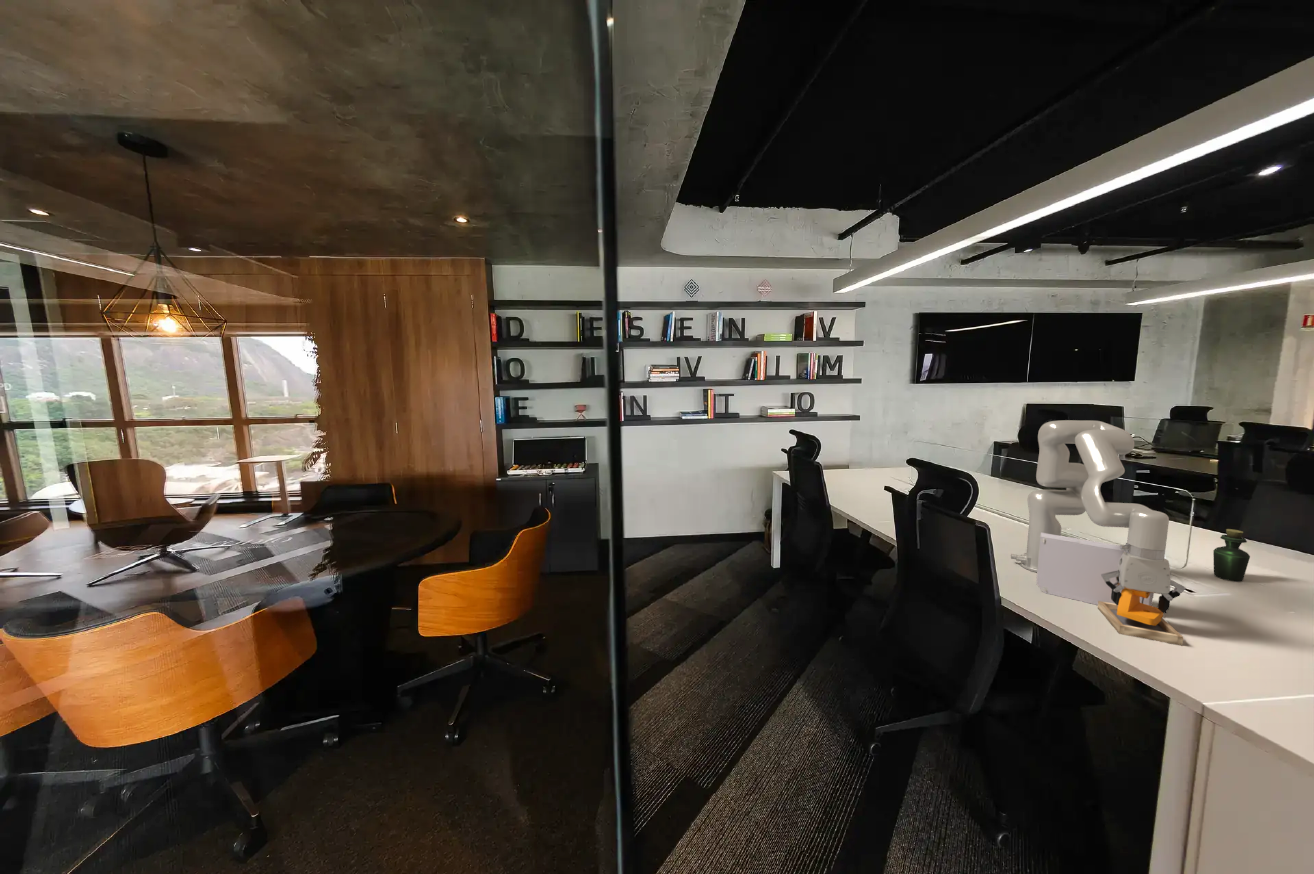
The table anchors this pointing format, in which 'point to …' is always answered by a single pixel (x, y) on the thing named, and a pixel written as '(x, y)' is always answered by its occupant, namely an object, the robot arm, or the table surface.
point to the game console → (1078, 568)
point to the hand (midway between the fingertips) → (1138, 607)
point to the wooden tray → (1139, 626)
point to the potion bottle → (1231, 557)
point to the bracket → (1138, 607)
